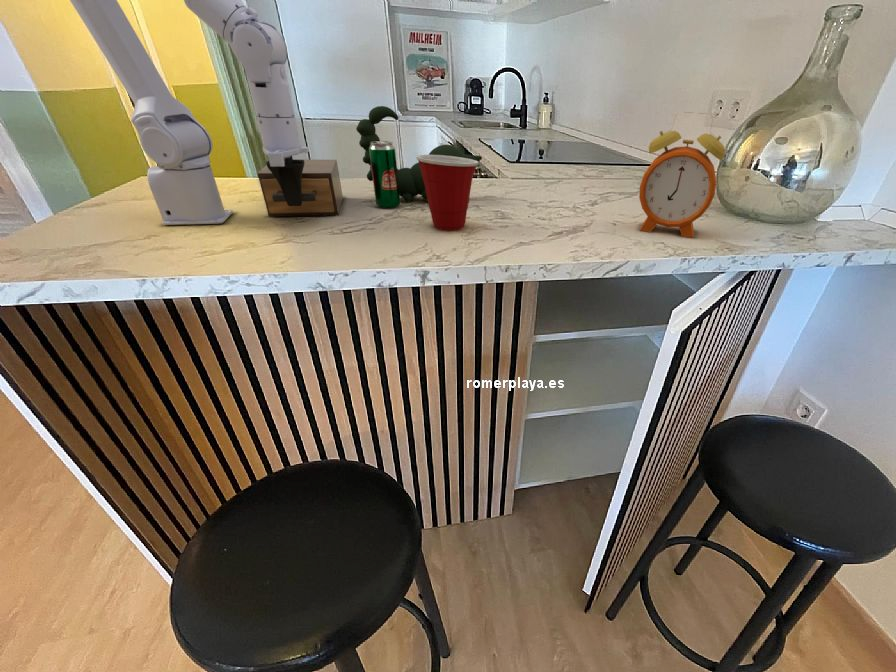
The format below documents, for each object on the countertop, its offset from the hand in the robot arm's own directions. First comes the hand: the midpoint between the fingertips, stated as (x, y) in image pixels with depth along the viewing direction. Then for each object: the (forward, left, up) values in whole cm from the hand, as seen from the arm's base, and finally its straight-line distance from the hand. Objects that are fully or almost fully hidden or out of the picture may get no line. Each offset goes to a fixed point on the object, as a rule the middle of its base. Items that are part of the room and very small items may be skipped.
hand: (295, 205), depth 80 cm
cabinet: (0, +13, -3) cm, 13 cm away
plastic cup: (+27, -4, -4) cm, 28 cm away
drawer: (0, +9, -3) cm, 9 cm away
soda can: (+16, +12, -4) cm, 20 cm away
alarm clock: (+69, -11, -4) cm, 70 cm away
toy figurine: (+24, +17, -4) cm, 30 cm away
